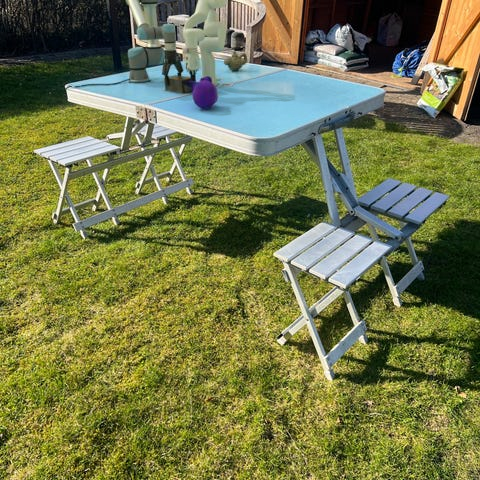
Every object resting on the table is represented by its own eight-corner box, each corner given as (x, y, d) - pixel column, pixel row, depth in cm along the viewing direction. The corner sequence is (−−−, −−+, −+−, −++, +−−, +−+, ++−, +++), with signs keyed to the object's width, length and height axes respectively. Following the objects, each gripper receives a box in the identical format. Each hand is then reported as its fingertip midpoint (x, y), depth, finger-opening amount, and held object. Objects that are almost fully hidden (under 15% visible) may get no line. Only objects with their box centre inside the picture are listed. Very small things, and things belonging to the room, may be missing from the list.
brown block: (193, 90, 308) (193, 77, 304) (182, 93, 301) (181, 80, 296) (176, 87, 317) (175, 75, 313) (165, 90, 310) (164, 77, 305)
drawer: (202, 90, 303) (202, 80, 299) (192, 93, 296) (192, 83, 293) (180, 87, 314) (179, 77, 310) (170, 89, 307) (169, 79, 304)
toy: (205, 99, 283) (218, 114, 263) (178, 94, 276) (189, 110, 255) (211, 73, 275) (224, 87, 254) (183, 68, 268) (194, 82, 247)
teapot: (227, 73, 361) (227, 53, 353) (221, 70, 369) (220, 51, 362) (250, 70, 370) (250, 50, 362) (243, 68, 378) (242, 49, 371)
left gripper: (162, 52, 289) (165, 87, 300) (187, 48, 304) (189, 81, 316) (153, 51, 293) (157, 86, 304) (179, 47, 308) (181, 80, 320)
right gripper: (187, 52, 281) (189, 83, 290) (203, 50, 291) (205, 79, 300) (179, 51, 285) (181, 81, 294) (195, 49, 295) (196, 78, 304)
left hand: (173, 84), depth 310 cm, fingers closed on brown block, 11 cm apart
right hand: (193, 80), depth 297 cm, fingers closed
